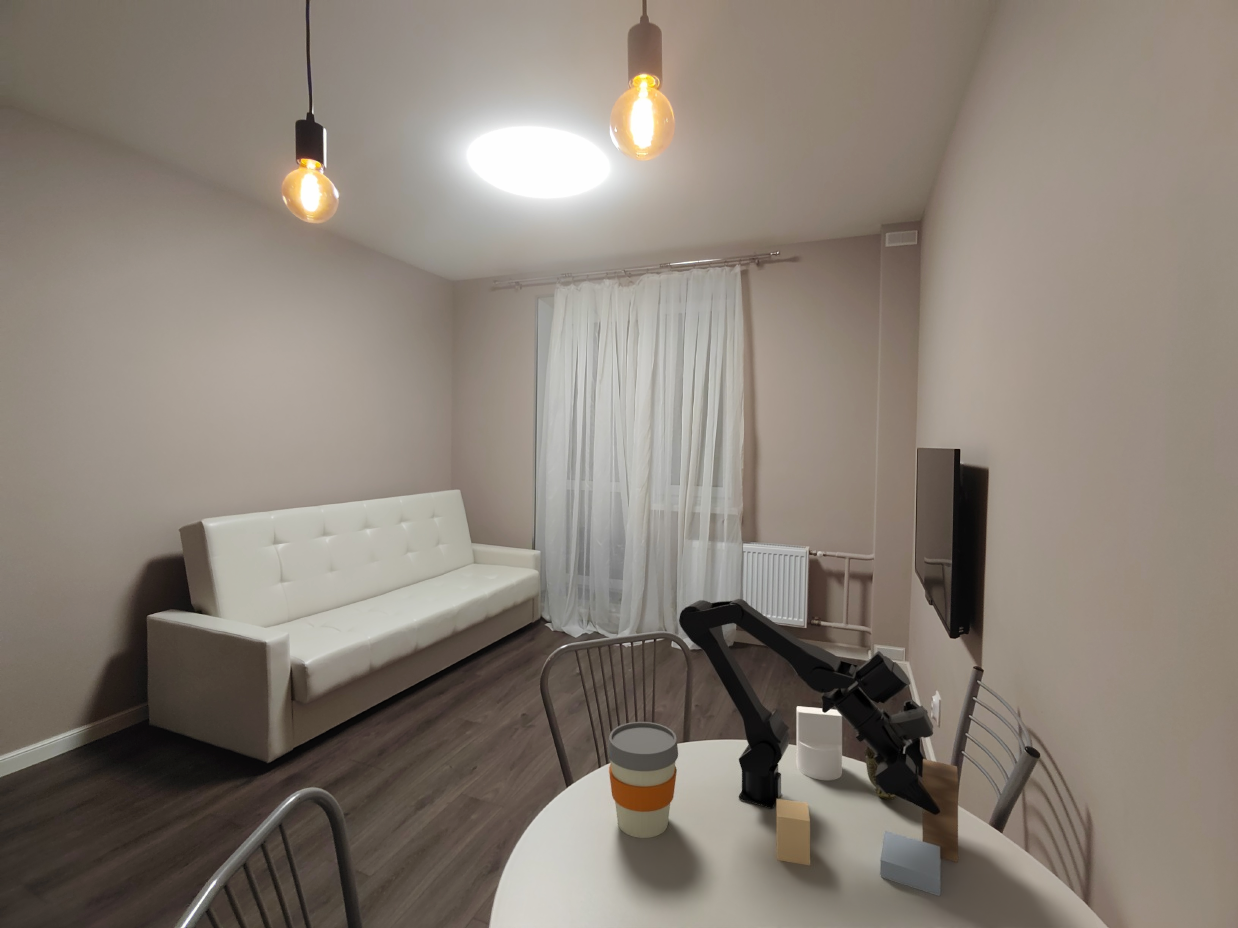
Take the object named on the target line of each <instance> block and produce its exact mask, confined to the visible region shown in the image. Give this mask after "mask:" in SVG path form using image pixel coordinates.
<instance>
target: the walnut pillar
mask: <svg viewBox="0 0 1238 928" xmlns="http://www.w3.org/2000/svg"><path fill="white" fill-rule="evenodd" d="M926 759H927V758H926ZM926 759H923V771H922V777H921V779H922V782H921V783H922V785H923V786H924V788H925V789H926V790H927V792H928V793H929V795H930V796H931V797H932V799H933V800H934V801H935V803H936V804H937V806H938V807H939V809H940V813H938V814H937V815H934V814H932V813H930V812H928V811H926V810H925V809H923V808H921V809H922V815H921V816H922V820H921V821H922V822H921V823H922V841H923V842H926V843H929V844H933V845H936V846H940V859H944V860H948V861H951V862H954V863H959V777H958V776H959V775H958V766H957V765H953V764H947V763H944V762H939V761H934V760H929V759H927V760H926Z"/></svg>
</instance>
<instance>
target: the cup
mask: <svg viewBox="0 0 1238 928" xmlns="http://www.w3.org/2000/svg"><path fill="white" fill-rule="evenodd" d="M864 755H865V766H866V772H867V775H868V776H867V777H868V778H869V781H870V783H871V784H872V785H873V786H874V787H875V793H876V795H877V796H878V797H880V798H882V799H884V800H888V801H891V800H894V799H896V797H897V796H896V795H890V794H889V793H888V794H884V793H883V792H882V791H881V790H880V789H879V787H878V786H877V785H876V778H875V776H876V771H877V766H879V765H880V764H882V763H883V762H885V761H886V760H885V759H884V760H883V761H881V762H880V763H878V762H877V761H876V760H875V759H874V757H875V753H874V751H873V750H872V749H871V748H870V747H869V746H868V745H867V746H866V748H865V749H864Z"/></svg>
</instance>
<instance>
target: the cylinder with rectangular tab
mask: <svg viewBox="0 0 1238 928" xmlns="http://www.w3.org/2000/svg"><path fill="white" fill-rule="evenodd" d="M796 768H797V770H798V771H799V773H801V774H803V775H804V776H806V777H808V778H811V779H815V780H819V781H835V780H837V779H839V778H840V777H842V775H843V716H842V715H841V714H840V713H839V712H838V711H837V710H836V709H835V708H834V709H833V708H831V709H830V710H829V711H827V712H826V713H824V712H823V711H822V707H821V708H820V707H810V706H809V707H808V706H801V705H800V706H798V705H797V706H796Z"/></svg>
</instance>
